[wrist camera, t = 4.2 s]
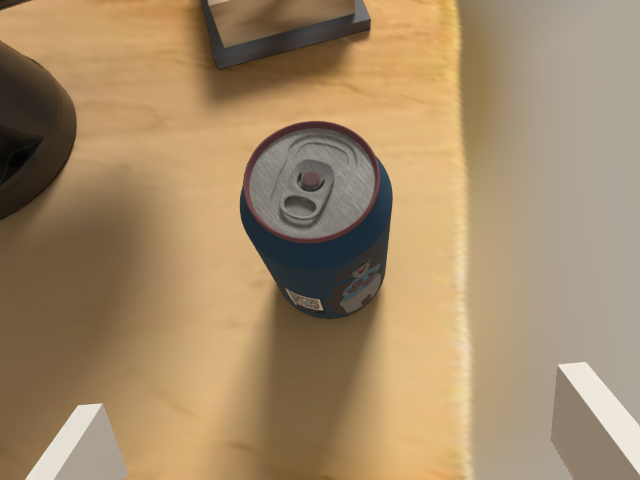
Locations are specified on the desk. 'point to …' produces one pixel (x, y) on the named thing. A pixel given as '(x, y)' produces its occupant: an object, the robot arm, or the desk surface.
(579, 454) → the robot arm
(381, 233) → the soda can
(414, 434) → the desk surface
